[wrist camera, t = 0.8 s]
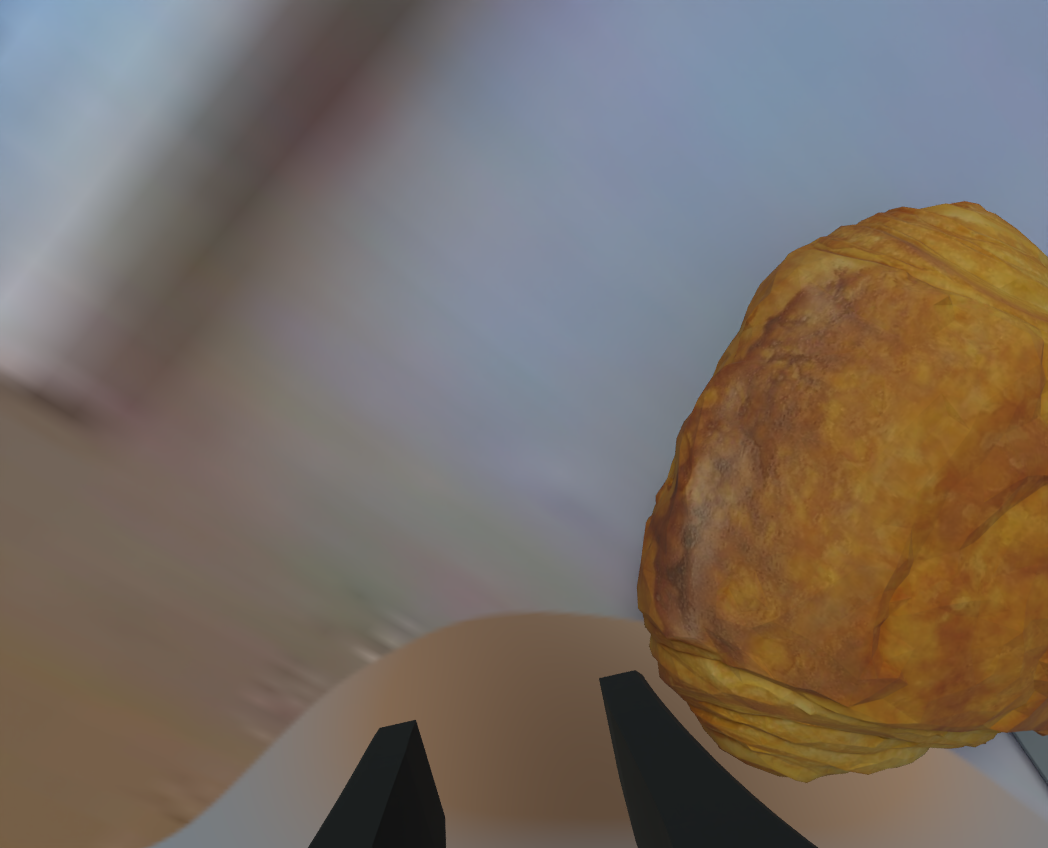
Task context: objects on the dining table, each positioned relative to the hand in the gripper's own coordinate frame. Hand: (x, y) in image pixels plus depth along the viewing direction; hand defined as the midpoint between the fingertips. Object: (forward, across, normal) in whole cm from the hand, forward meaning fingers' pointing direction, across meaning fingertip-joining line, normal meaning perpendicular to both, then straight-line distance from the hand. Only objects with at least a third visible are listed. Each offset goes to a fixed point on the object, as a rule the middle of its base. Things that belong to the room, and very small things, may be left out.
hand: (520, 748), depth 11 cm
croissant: (+10, -11, +2) cm, 15 cm away
